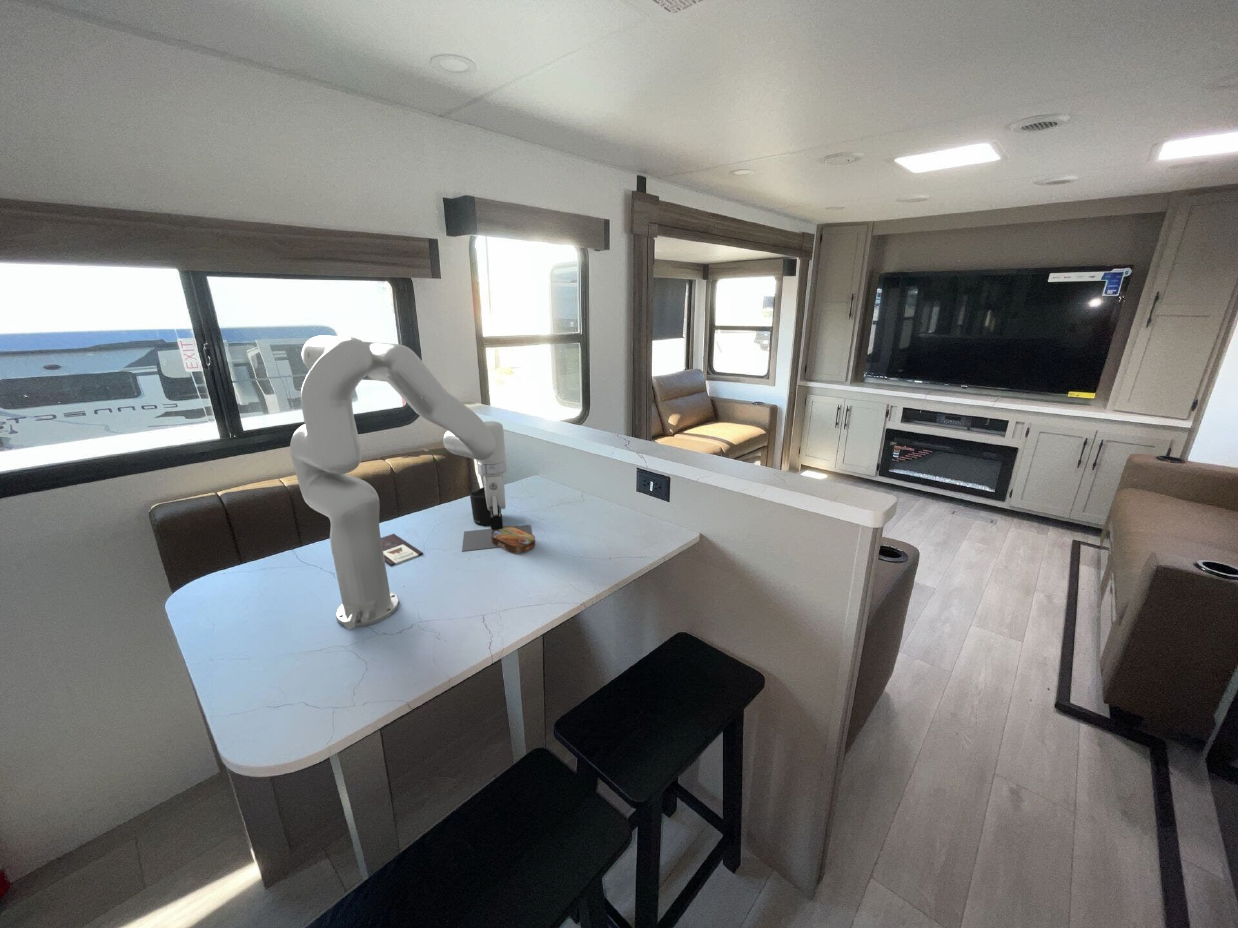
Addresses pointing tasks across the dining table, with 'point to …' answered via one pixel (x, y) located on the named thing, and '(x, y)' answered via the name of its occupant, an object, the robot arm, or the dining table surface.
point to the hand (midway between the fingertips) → (497, 528)
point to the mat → (483, 538)
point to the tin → (513, 539)
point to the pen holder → (480, 508)
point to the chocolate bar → (397, 550)
